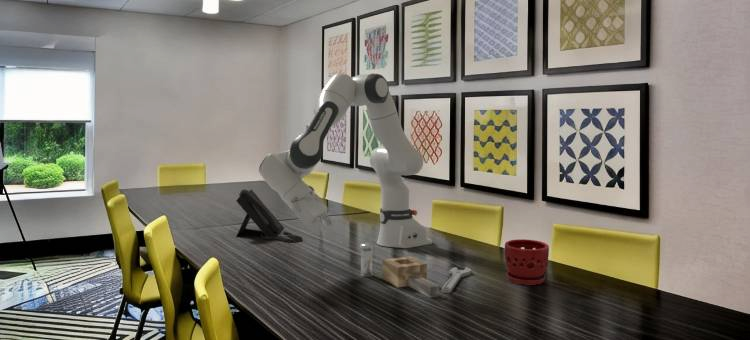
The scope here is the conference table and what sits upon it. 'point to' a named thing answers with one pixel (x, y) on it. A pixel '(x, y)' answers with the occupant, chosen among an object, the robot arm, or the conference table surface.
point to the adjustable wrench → (455, 278)
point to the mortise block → (409, 275)
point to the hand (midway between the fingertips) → (328, 227)
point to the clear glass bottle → (366, 259)
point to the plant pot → (526, 261)
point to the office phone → (262, 217)
